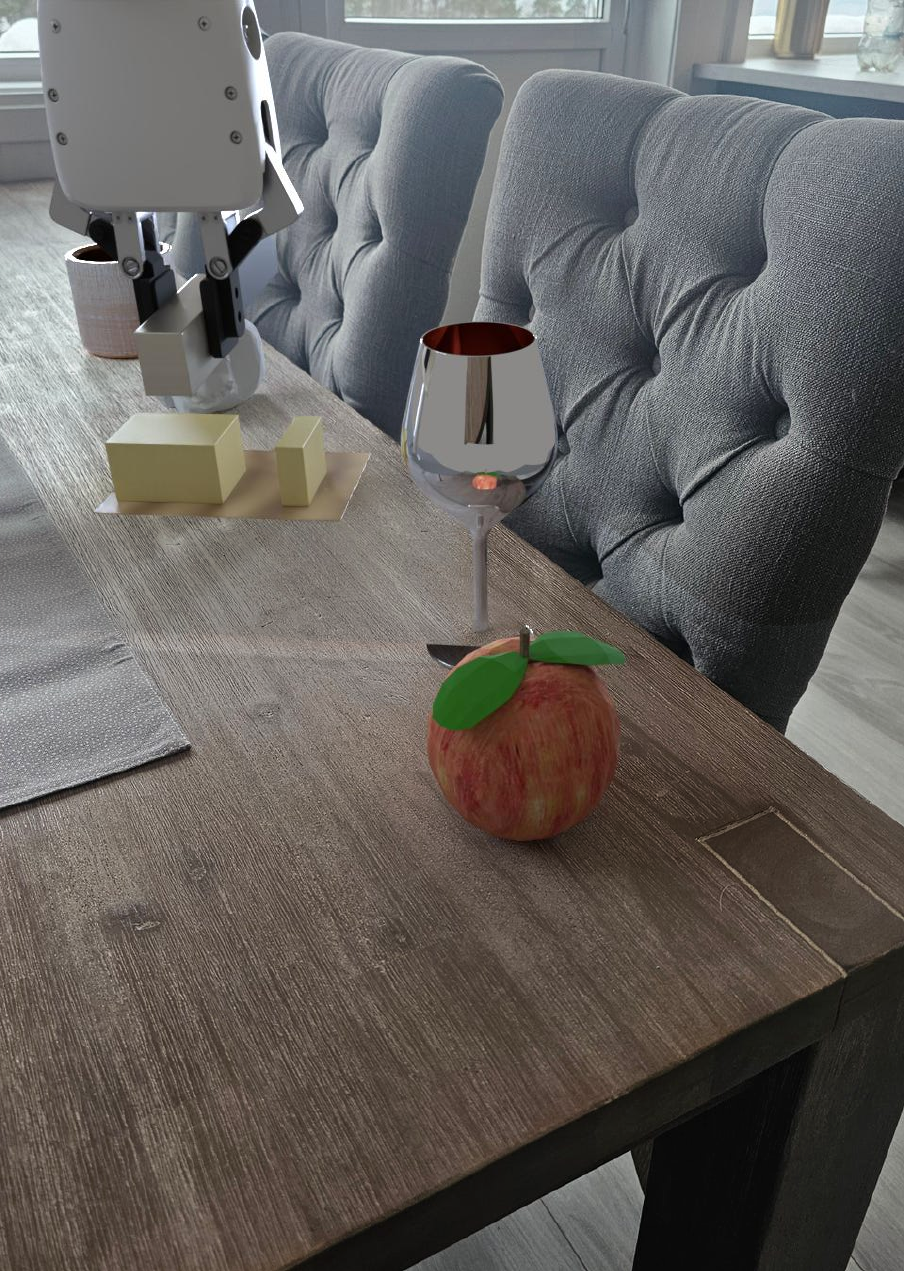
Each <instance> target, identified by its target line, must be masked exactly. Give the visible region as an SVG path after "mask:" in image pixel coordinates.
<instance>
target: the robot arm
mask: <svg viewBox="0 0 904 1271" xmlns="http://www.w3.org/2000/svg"><path fill="white" fill-rule="evenodd" d="M254 3H255V2H254V0H36V16H37V18H36V19H37V39H38V40H37V41H38V54H39V66H40V76H41V87H42V95H43V102H44V109H45V117H46V122H47V123H46V124H47V128H48V129H47V130H48V134H49V141H50V146H51V152H52V157H53V162H54V166H55V171H56V175H55V179H54V182H53V187H52V192H51V198H50V203H49V208H48V214H49V217H50V219H51V220H52V222H54V223H55V224H57V225H58V226H61V227H63V228H66V229H67V230H70V231H72V232H74V233H75V234H77V235H78V234H79V235H80V236H83V237H88V238H89V239H91V240H92V242H94V244H97V245H98V246H99V247H100V248H101V249H103V250H104V251H105V252H106V253H107V254H108V255H109V256H110V257H111V258H113V259H114V260H115V261H116V262H117V263H118V264H119V267H120V270H121V272H122V273H123V274H124V275H125V276H126V277H128V278H130V279H132V282H133V288H134V293H135V299H136V304H137V310H138V316H139V321H140V326H141V325H142V324H143V323H145V322H146V321H147V320H148V319H149V318H150V317H151V316H152V315H153V314H154V313H155V312H156V311H157V310H159V309H160V308H161V307H162V306H163V305H164V304H165V303H166V302H167V301H168V300H169V299H171V298H172V297H173V296H174V295H175V294H176V293H177V287H176V281H175V275H174V271H173V269H171V267H170V265H164V259H163V257H162V256H161V250H160V242H161V241H160V234H159V226H158V218H157V213H196V215H197V222H198V227H199V232H200V238H201V242H202V248H203V253H204V258H205V264H204V271H205V274H206V277H205V278H204V279H203V280H201V281H200V283H199V289H200V296H201V303H202V310H203V311H204V316H205V323H206V330H207V336H208V343H209V350H210V354H211V356H213V358H225V357H226V356H227V355H228V354H229V353H230V352H231V350H232V349H233V348H234V347H235V346H236V345H237V344H238V340H239V338H240V337H242V335H243V334H244V331H245V319H246V318H245V312H244V310H243V302H242V294H241V286H240V279H239V271H238V268H239V266H240V265H241V264H242V263H243V262H244V260H245V259H246V258H247V257H248V255H249V254H250V253H251V252H252V251H253V249H254V248H255V247H256V246H257V244H258V243H259V242H260V241H261V240H262V239H264V238H266V237H269V236H270V235H272V234H274V235H275V234H276V233H278V232H280V231H282V230H284V229H286V228H287V227H290V226H291V225H293V224H295V222H297V221H298V220H299V219H300V218H301V217H302V216H303V214H304V206H303V203H302V201H301V199H300V198H299V196H298V193H297V192H296V190H295V188H294V186H293V184H292V182H291V180H290V179H289V176H288V175H287V172H286V171H285V169H284V167H283V160H282V151H281V141H280V134H279V128H278V121H277V115H276V108H275V102H274V96H273V90H272V86H271V80H270V79H271V78H270V73H269V67H268V62H267V57H266V52H265V48H264V42H263V37H262V33H261V28H260V24H259V20H258V16H257V11H256V7H255V4H254ZM261 198H263V206H262V208H260V209H258V210H256V211H254V212H252V213H250V214H248V215H247V216H246V217H245V218H243V219H242V220H241V219H240V212H239V211H242V210H245V209H248V208H250V207H252V206H254V205H255V204H257V203H259V201H260V200H261Z"/></svg>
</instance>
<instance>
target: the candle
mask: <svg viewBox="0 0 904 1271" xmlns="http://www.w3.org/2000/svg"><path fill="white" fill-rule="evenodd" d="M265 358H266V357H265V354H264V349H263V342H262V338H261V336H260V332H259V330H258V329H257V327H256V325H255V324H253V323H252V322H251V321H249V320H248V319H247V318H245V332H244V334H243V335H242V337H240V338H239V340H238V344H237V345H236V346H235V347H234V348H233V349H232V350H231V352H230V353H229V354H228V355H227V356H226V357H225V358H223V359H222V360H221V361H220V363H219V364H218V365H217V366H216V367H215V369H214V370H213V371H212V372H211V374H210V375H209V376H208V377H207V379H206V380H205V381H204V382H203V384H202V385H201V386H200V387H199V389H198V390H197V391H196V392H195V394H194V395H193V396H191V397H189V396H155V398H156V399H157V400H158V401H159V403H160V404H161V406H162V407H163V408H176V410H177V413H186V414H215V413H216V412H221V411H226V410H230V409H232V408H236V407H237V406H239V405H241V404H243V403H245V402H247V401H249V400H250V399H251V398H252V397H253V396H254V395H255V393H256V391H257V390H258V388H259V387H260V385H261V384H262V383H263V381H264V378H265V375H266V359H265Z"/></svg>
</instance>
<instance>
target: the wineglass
mask: <svg viewBox="0 0 904 1271" xmlns="http://www.w3.org/2000/svg"><path fill="white" fill-rule="evenodd" d="M542 358H543V357H542V355H541V350H540V346H539V343H538V339H537V335H536V334H535V332H533V331H532V330H531V329H529V328H526V327H524V326H520V325H518V324H514V323H507V322H500V321H484V320H483V321H482V320H479V321H461V322H453V323H449V324H444V325H440V326H437V327H434V328H432V329H429V330H427V331H425V333H423V334H422V335H421V337H420V341H419V344H418V348H417V352H416V356H415V361H414V364H413V370H412V374H411V379H410V384H409V388H408V392H407V397H406V403H405V407H404V413H403V418H402V419H403V420H402V425H401V433H400V453H401V458H402V462H403V465H404V468H405V470H406V472H407V474H408V476H409V478H410V479H411V480H412V482H413V484H414V485H415V486H416V487H417V489H418V490H419V491H420V492H421V493H422V494H423V495H424V496H425V497H426V498H427V499H428V500H429V501H431V502H432V503H433V504H435V505H436V506H437V507H439V508H440V509H442V510H443V511H444V512H446V513H448V514H449V515H451V516H452V517H454V518H455V519H456V520H458V521H459V522H460V523H461V524H462V525H463V526H465V528H466V529H467V531H468V532H469V533H470V535H471V537H472V564H473V566H472V568H473V571H472V574H473V614H472V624H471V629H472V630H473V632H477V633H484V632H485V633H486V632H487V631H489V630H490V628H491V627H490V622H489V608H488V606H489V605H488V539H489V538H488V537H489V535H490V534H491V531H492V530H493V528H494V527H495V526H496V525H497V524H498V523H500V521H501V520H503V519H504V518H505V517H507V516H509V515H510V514H511V513H513V512H514V511H516V510H517V509H518V508H520V507H522V505H524V504H525V503H526V502H528V501H529V500H530V499H531V498H532V497H533V496H535V494H537V493H538V491H539V490H540V489H541V488H542V486H543V485H544V484H545V482H546V481H547V479H548V478H549V476H550V475H551V473H552V471H553V469H554V466H555V464H556V460H557V456H558V450H559V434H558V426H557V425H558V424H557V419H556V415H555V409H554V404H553V399H552V396H551V391H550V386H549V383H548V378H547V374H546V370H545V366H544V362H543V359H542ZM525 628H527V629H529V630H530V637H534V638H536V637H535V634H534V632H533V631H532V629H531V628H530V627H529V626H528V624H526V625H525ZM481 647H483V646H477V645H457V644H456V645H455V644H435V643H433V644H432V643H426V650H427V652H428V654H429V655H430V657H431V658H432V659H433V660H434V661H435V662H437V663H438V664H439V665H441V666H443V667H444V668H447V669H449V670H452V669H453V668H454V667H455V666H456V665H457V664H458V663H459V662H460V661H461V660H462V659H463V658H464V657H465V656H467V655H468V654H469V653H471V652H473V651H475V650H477V649H479V648H481Z"/></svg>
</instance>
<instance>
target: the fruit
mask: <svg viewBox="0 0 904 1271" xmlns="http://www.w3.org/2000/svg"><path fill="white" fill-rule="evenodd" d="M626 660H627V658H626V656H625V655H624V653H623V651H622V650H620V649H618V648H617V647H615V646H613V645H610V644H608V643H605V642H603V641H601V640H598V639H596V638H593V637H591V636H588V635H586V634H583V633H581V632H578V631H568V630H567V631H566V630H555V631H551V632H547V633H542V634H540V635H539V636H537V637H535V638H534V637H530V630H529V629H527V628H526V627H523V628H520V629H519V636H515V637H513V636H512V637H506V638H505V637H504V638H498V639H495V640H493V641H492V642H490V643H487V644H485V645H483V646H482V647H481V648H479V649H477V650H475V651H473V652H471V653H469V654H468V655H467V656H465V657H464V658H463V659H462V660H461V661H460V662H459V663H458V664H457V665H456V666H455V667H454V668H453V669H450V671H449V672H448V674H447V675H446V676H445V678H444V679H443V681H442V682H441V685H440V686H439V687H438V689H437V691H436V695H435V698H434V700H433V703H432V706H431V708H430V711H429V715H428V716H427V717H428V718H427V730H426V732H427V734H426V752H427V758H428V764H429V766H430V768H431V770H432V773H433V775H434V778H435V779H436V782H437V784H438V786H439V788H440V791H441V794H442V795H443V797H444V799H445V801H447V802H448V804H449V805H450V806H451V807H452V808H453V809H454V810H455V811H456V812H457V814H458V815H460V817H461V818H462V819H463V820H464V821H465V822H467V823H469V824H470V825H472V826H474V827H476V828H477V829H480V830H481V831H483V832H485V833H486V834H488V835H491V836H493V837H496V838H502V839H507V840H512V841H519V842H525V841H533V840H534V841H535V840H546V839H549V838H551V837H554V836H556V835H559V834H561V833H564V832H566V831H568V830H571V829H572V828H574V827H575V826H577V825H579V824H580V823H581V822H582V821H583V820H584V819H585V818H586V817H588V816H589V814H590V813H591V812H592V811H593V810H595V808H596V807H598V805H599V803H600V802H601V800H602V798H603V796H604V795H605V794H606V792H607V790H608V789H609V787H610V786H611V784H612V782H613V780H614V775H615V772H616V767H617V765H618V760H619V755H620V748H621V742H622V738H621V736H622V735H621V734H622V732H621V721H620V718H619V715H618V712H617V708H616V705H615V703H614V701H613V698H612V696H611V694H610V691H609V689H608V687H607V685H606V683H605V682H604V680H603V678H602V677H601V676H600V674H599V672H598V671H597V670H596V669H595V668H594V666H605V665H618V666H624V665H625V663H626Z"/></svg>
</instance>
